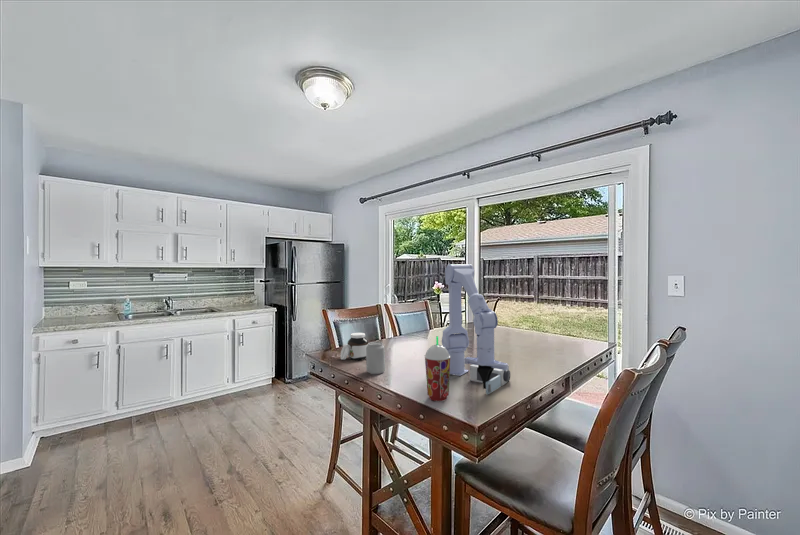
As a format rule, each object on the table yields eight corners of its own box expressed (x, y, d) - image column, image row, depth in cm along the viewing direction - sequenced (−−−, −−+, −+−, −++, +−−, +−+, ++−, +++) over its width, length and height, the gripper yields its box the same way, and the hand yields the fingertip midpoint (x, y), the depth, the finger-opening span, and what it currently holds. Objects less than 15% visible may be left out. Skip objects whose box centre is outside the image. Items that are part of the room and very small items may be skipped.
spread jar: (371, 358, 160) (371, 333, 160) (353, 363, 152) (352, 337, 152) (354, 354, 168) (354, 331, 168) (336, 359, 160) (335, 334, 160)
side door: (489, 394, 111) (489, 383, 111) (485, 393, 112) (485, 382, 112) (503, 385, 119) (503, 375, 119) (499, 385, 120) (499, 374, 120)
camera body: (469, 380, 127) (469, 364, 127) (478, 374, 134) (478, 359, 134) (504, 387, 119) (504, 369, 119) (512, 381, 126) (512, 364, 126)
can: (373, 376, 134) (373, 345, 134) (362, 372, 139) (362, 342, 139) (388, 372, 139) (388, 342, 139) (377, 368, 144) (377, 340, 144)
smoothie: (455, 401, 107) (454, 337, 107) (430, 404, 105) (430, 339, 105) (444, 392, 115) (443, 333, 116) (421, 395, 113) (420, 334, 113)
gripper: (460, 347, 115) (460, 387, 115) (502, 353, 107) (503, 396, 107) (469, 343, 121) (469, 381, 121) (510, 348, 112) (510, 389, 112)
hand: (485, 388), depth 114 cm, fingers closed
